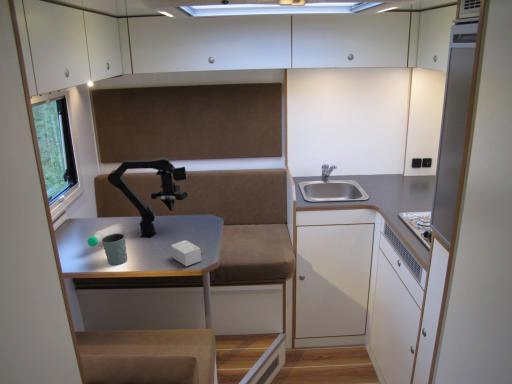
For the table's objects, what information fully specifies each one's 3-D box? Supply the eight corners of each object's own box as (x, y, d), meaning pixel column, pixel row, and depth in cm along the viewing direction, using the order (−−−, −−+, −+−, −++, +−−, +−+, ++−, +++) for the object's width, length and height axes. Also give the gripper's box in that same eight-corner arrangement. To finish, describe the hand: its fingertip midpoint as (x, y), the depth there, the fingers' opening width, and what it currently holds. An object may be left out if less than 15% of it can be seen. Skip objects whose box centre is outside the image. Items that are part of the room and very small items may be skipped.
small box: (172, 257, 199) (186, 266, 189) (170, 244, 197) (184, 253, 188) (187, 252, 204) (201, 260, 194) (185, 239, 202) (200, 247, 192)
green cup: (132, 257, 204) (128, 233, 200) (121, 267, 194) (117, 242, 191) (113, 256, 206) (109, 232, 203) (101, 266, 197) (96, 242, 193)
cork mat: (179, 262, 195) (179, 261, 195) (191, 250, 206) (191, 249, 206) (192, 263, 193) (192, 262, 193) (204, 251, 204) (204, 250, 204)
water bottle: (120, 238, 230) (93, 252, 206) (110, 230, 230) (81, 243, 206) (127, 228, 228) (100, 241, 204) (117, 220, 229) (89, 231, 204)
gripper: (190, 177, 225) (194, 206, 229) (159, 177, 231) (164, 204, 236) (180, 184, 215) (184, 213, 220) (147, 183, 221) (152, 212, 226)
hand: (171, 210), depth 226 cm, fingers closed
